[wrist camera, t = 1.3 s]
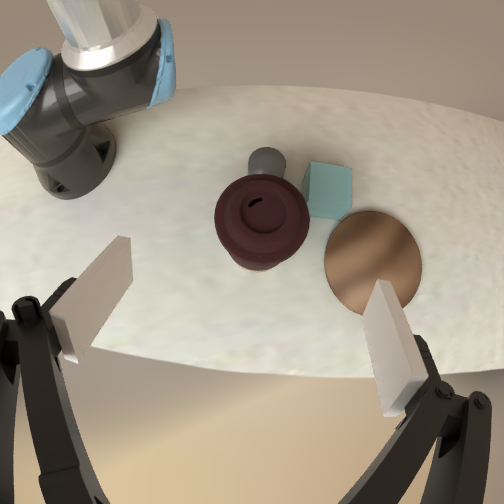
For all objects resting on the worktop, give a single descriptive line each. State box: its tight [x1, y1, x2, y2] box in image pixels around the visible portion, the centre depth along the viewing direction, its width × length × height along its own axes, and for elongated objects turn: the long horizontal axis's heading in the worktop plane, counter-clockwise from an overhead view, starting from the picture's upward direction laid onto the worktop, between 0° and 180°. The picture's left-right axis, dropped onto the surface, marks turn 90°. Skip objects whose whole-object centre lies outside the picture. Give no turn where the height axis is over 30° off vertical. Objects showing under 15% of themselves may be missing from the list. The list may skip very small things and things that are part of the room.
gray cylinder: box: [248, 147, 286, 179], centre depth 45 cm, size 5×5×7 cm
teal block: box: [302, 161, 352, 220], centre depth 45 cm, size 6×6×6 cm
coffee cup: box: [214, 174, 310, 273], centre depth 39 cm, size 10×10×15 cm
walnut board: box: [324, 211, 422, 315], centre depth 46 cm, size 16×16×1 cm
